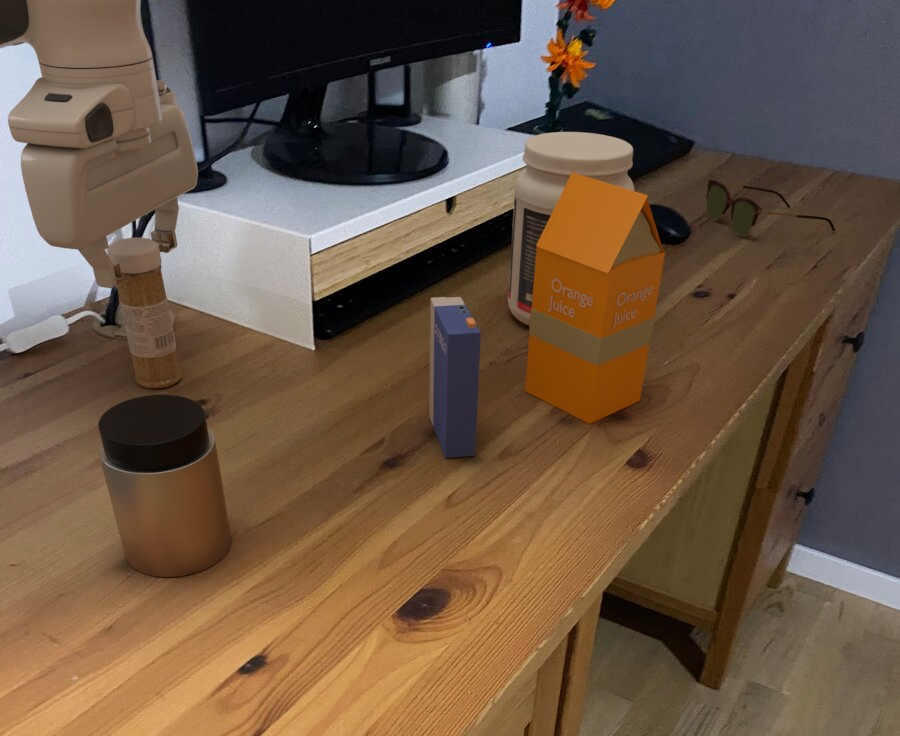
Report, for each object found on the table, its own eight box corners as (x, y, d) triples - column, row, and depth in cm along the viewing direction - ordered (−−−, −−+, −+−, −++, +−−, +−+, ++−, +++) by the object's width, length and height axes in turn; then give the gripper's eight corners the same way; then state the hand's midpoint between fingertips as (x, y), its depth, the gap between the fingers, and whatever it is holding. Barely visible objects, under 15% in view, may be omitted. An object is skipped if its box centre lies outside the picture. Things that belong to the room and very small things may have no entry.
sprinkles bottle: (169, 366, 94) (144, 232, 85) (190, 382, 91) (166, 246, 83) (127, 378, 92) (97, 241, 83) (147, 395, 89) (118, 256, 80)
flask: (103, 565, 68) (67, 436, 61) (160, 508, 74) (132, 384, 67) (199, 587, 67) (173, 456, 60) (249, 526, 72) (231, 401, 65)
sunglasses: (699, 212, 137) (708, 176, 134) (781, 213, 142) (792, 179, 139) (750, 243, 127) (761, 206, 124) (838, 244, 131) (851, 207, 128)
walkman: (475, 456, 82) (481, 327, 74) (445, 459, 81) (448, 330, 73) (457, 414, 87) (461, 291, 80) (428, 416, 87) (429, 293, 79)
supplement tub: (638, 328, 104) (667, 154, 92) (541, 346, 100) (557, 166, 88) (579, 288, 113) (598, 125, 101) (487, 303, 108) (495, 134, 97)
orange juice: (575, 369, 95) (600, 164, 83) (641, 400, 90) (678, 187, 78) (522, 391, 91) (539, 179, 79) (588, 425, 86) (618, 204, 74)
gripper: (139, 73, 84) (167, 228, 92) (-9, 123, 68) (42, 302, 77) (201, 78, 82) (223, 235, 91) (63, 129, 67) (107, 312, 76)
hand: (139, 266), depth 84 cm, fingers open, 8 cm apart
